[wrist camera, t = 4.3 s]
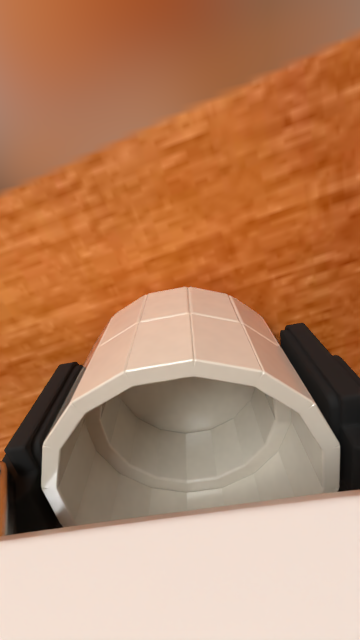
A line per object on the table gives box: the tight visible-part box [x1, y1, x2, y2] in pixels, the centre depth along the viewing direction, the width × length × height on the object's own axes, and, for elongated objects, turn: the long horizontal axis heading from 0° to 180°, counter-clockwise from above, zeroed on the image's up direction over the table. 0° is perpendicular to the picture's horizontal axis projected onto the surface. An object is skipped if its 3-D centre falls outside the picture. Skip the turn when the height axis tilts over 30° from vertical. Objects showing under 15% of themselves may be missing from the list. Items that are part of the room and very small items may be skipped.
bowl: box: [41, 287, 340, 527], centre depth 9 cm, size 7×7×5 cm
